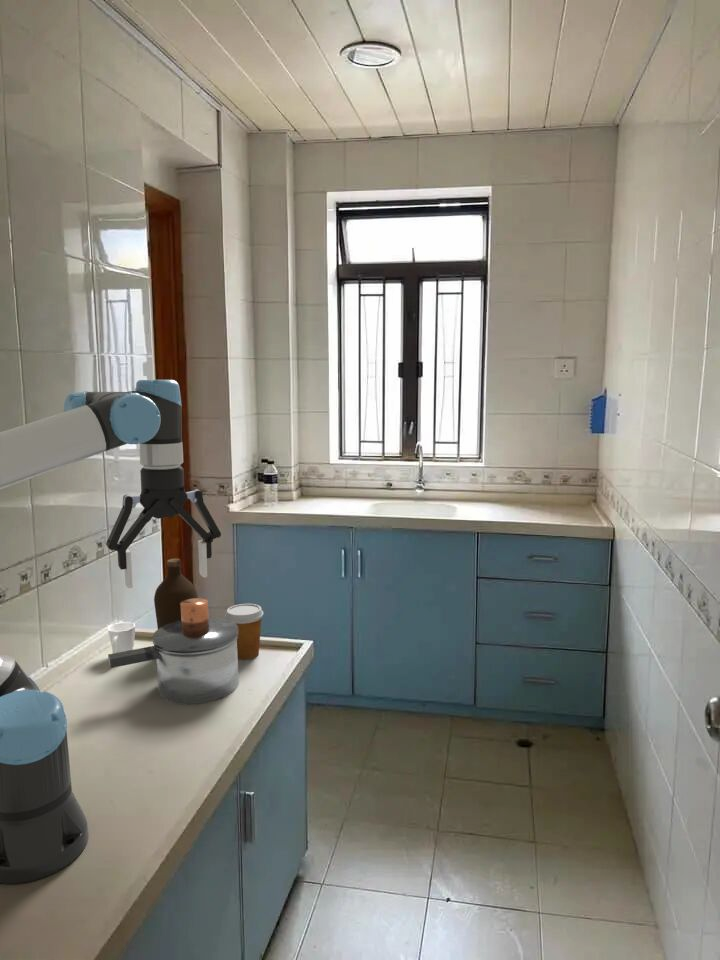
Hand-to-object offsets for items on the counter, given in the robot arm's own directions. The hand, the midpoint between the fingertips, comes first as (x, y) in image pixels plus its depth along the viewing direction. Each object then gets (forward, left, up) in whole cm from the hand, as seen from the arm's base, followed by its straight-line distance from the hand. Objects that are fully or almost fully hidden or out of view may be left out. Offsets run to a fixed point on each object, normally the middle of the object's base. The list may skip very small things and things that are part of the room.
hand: (167, 580), depth 131 cm
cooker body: (+6, +26, -34) cm, 43 cm away
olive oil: (+10, +46, -34) cm, 58 cm away
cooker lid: (+10, +26, -22) cm, 35 cm away
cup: (-3, +51, -34) cm, 61 cm away
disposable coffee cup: (+25, +38, -34) cm, 57 cm away
